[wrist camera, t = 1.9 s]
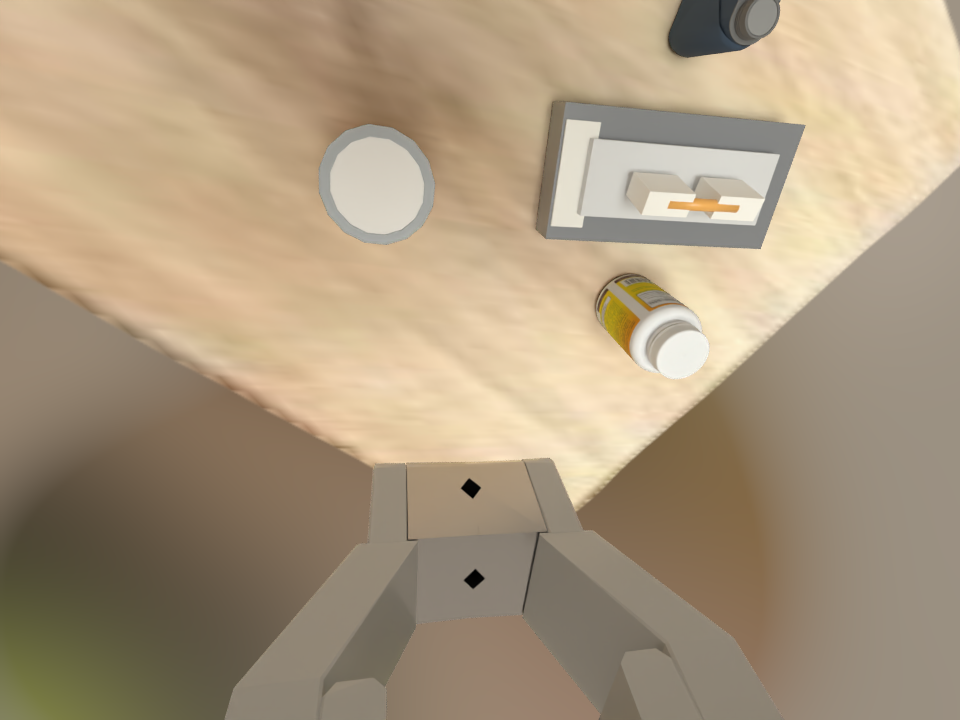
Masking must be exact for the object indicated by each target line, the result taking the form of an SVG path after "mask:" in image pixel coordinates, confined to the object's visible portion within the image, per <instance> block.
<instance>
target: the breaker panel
mask: <svg viewBox="0 0 960 720" xmlns="http://www.w3.org/2000/svg"><path fill="white" fill-rule="evenodd" d="M804 128H805V125H800V124H789V123H779V122H769V121H759V120H748V119H738V118H728V117H717V116H707V115H697V114H686V113H676V112H666V111H656V110H645V109H635V108H625V107H614V106H604V105H594V104H583V103H573V102H556V101H553V106H552V113H551V121H550V128H549V135H548V143H547V150H546V157H545V165H544V172H543V179H542V187H541V194H540V201H539V209H538V216H537V223H536V230H537V231H538V232H539V233H540V234H541V235H542V236H543V237H544V238H545V239H558V240H579V241H601V242H622V243H643V244H665V245H686V246H708V247H729V248H750V249H761V246H762V243H763V241H764V238H765V235H766V232H767V230H768V227H769V224H770V221H771V219H772V216H773V213H774V210H775V208H776V205H777V202H778V199H779V197H780V194H781V191H782V189H783V186H784V183H785V180H786V178H787V175H788V172H789V169H790V167H791V164H792V161H793V158H794V156H795V153H796V150H797V147H798V145H799V142H800V139H801V136H802V134H803V131H804ZM634 172H640V173H653V174H667V175H677V176H678V177H679V178H680V179H681V180H682V181H683V182H684V183H685V184H686V185H687V186H688V187H689V188H690V189H691V190H692V191H693V192H695V189H696V187H697V185H698V182H699V180H700V178H701V177H708V178H721V179H735V180H743V181H744V182H745V183H746V184H748V185H749V186H750V187H751V188H752V189H754V190H755V191H756V192H757V193H759V194H760V195H761V196H762V197H763V198H765V201H764V203H763V204H762V206H761V208H760V210H759V212H758V213H757V215H756V217H755V219H754V221H737V220H720V219H710V218H709V217H708V216H707V215H706V214H705V213H704V212H703V211H689V212H688V215H687V217H686V218H685V217H667V216H650V215H641V214H640V212H639V211H638V210H637V208H636V207H635V206H634V205H633V203H632V202H631V201H630V199H629V198H628V197H627V195H626V193H627V190H628V187H629V185H630V182H631V179H632V176H633V173H634Z"/></svg>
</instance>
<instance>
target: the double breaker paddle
mask: <svg viewBox="0 0 960 720" xmlns="http://www.w3.org/2000/svg"><path fill="white" fill-rule="evenodd" d="M626 195H627V197H628V198H629V199H630V201H631V202H632V203H633V205H634V206H635V207H636V208H637V210H638V211H639V212H640V214H641V215H650V216H667V217H685V218H686V217H687V215H688V212H689V211H703V212H704V213H705V214H706V215H707V216H708V217H709V218H710V219H720V220H737V221H754V219H755V217H756V215H757V213H758V212H759V210H760V208H761V206H762V204H763V203H764V201H765V198H763V197H762V196H761V195H760V194H759V193H757V192H756V191H755V190H754V189H752V188H751V187H750V186H749V185H748V184H746V183H745V182H744V181H743V180H735V179H721V178H708V177H701V178H700V180H699V182H698V185H697V187H696V189H695V192H693V191H692V190H691V189H690V188H689V187H688V186H687V185H686V184H685V183H684V182H683V181H682V180H681V179H680V178H679V177H678V176H677V175H667V174H653V173H640V172H634V173H633V176H632V179H631V182H630V185H629V187H628V190H627V193H626Z"/></svg>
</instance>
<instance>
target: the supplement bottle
mask: <svg viewBox="0 0 960 720" xmlns="http://www.w3.org/2000/svg"><path fill="white" fill-rule="evenodd" d="M596 313H597V317H598V320H599V322H600V324H601V325H602V326H603V327H604V328H605V330H606V331H607V332H608V333H609V334H610V335H611V336H612V337H613V338H614V340H615V341H616V342H617V343H618V344H619V345H620V346H621V347H622V348H623V349H624V351H625V352H626V353H627V354H628V355H629V356H630V357H631V358H632V359H633V361H634V362H635V363H636V364H637V365H638V366H640V367H641V368H642V369H644V370H646V371H649V372H653V373H661V374H662V375H663V376H665V377H667V378H670V379H682V378H685V377H688V376H690V375H692V374H693V373H695V372H696V371H698V370H699V369H700V368H701V367H702V365H703V364H704V363H705V361H706V359H707V357H708V354H709V342H708V340H707V338H706V336H705V335H704V334H703V333H702V326H701V322H700V320H699V318H698V317H697V315H696V314H695V313H694V312H693V311H692V310H690V309H689V308H688V307H686V306H685V305H684V304H682V303H681V302H679V301H678V300H677V299H675V298H674V297H672V296H671V295H670V294H668V293H667V292H665V291H664V290H663V289H661V288H660V287H658V286H657V285H656V284H654V283H653V282H651V281H650V280H649V279H647V278H645V277H643V276H640V275H635V274H629V275H624V276H620V277H618V278H616V279H614V280H613V281H611V282H610V283H609V284H608V285H607V286H606V287H605V288H604V289H603V290H602V292H601V294H600V296H599V298H598V301H597V305H596Z"/></svg>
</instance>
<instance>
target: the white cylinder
mask: <svg viewBox="0 0 960 720" xmlns="http://www.w3.org/2000/svg"><path fill="white" fill-rule="evenodd" d="M434 190H435V181H434V178H433V174H432V171H431V167H430V164H429V160H428V159H427V158H426V156H425V155H424V154H423V152H422V151H421V150H420V148H419V147H418V146H417V144H416V143H415V142H414V141H413V140H412V139H410V138H409V137H407V136H405V135H404V134H402V133H400V132H399V131H397V130H396V129H394V128H392V127H385V126H378V125H372V124H367V125H363V126H360V127H356V128H353V129H349V130H346V131H345V132H343V133H342V134H341V135H340V136H339V137H338V138H337V139H336V140H335V141H333V142H332V143H331V144H330V145H329V146H328V148H327V150H326V152H325V155H324V157H323V160H322V162H321V164H320V167H319V193H320V196H321V198H322V201H323V203H324V206H325V208H326V211H327V213H328V215H329V216H330V217H331V218H332V219H333V221H334V222H335V223H336V224H337V225H338V226H339V227H340V228H341V229H342V230H343V231H344V232H345V233H347V234H349V235H351V236H353V237H355V238H357V239H359V240H361V241H363V242H365V243H374V244H384V245H387V244H391V243H394V242H397V241H401V240H404V239H407V238H408V237H409V236H411V235H412V234H413V233H414V232H416V231H417V230H418V229H419V228H420V227H422V226H423V224H424V222H425V221H426V219H427V217H428V215H429V213H430V211H431V209H432V207H433V201H434Z"/></svg>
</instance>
